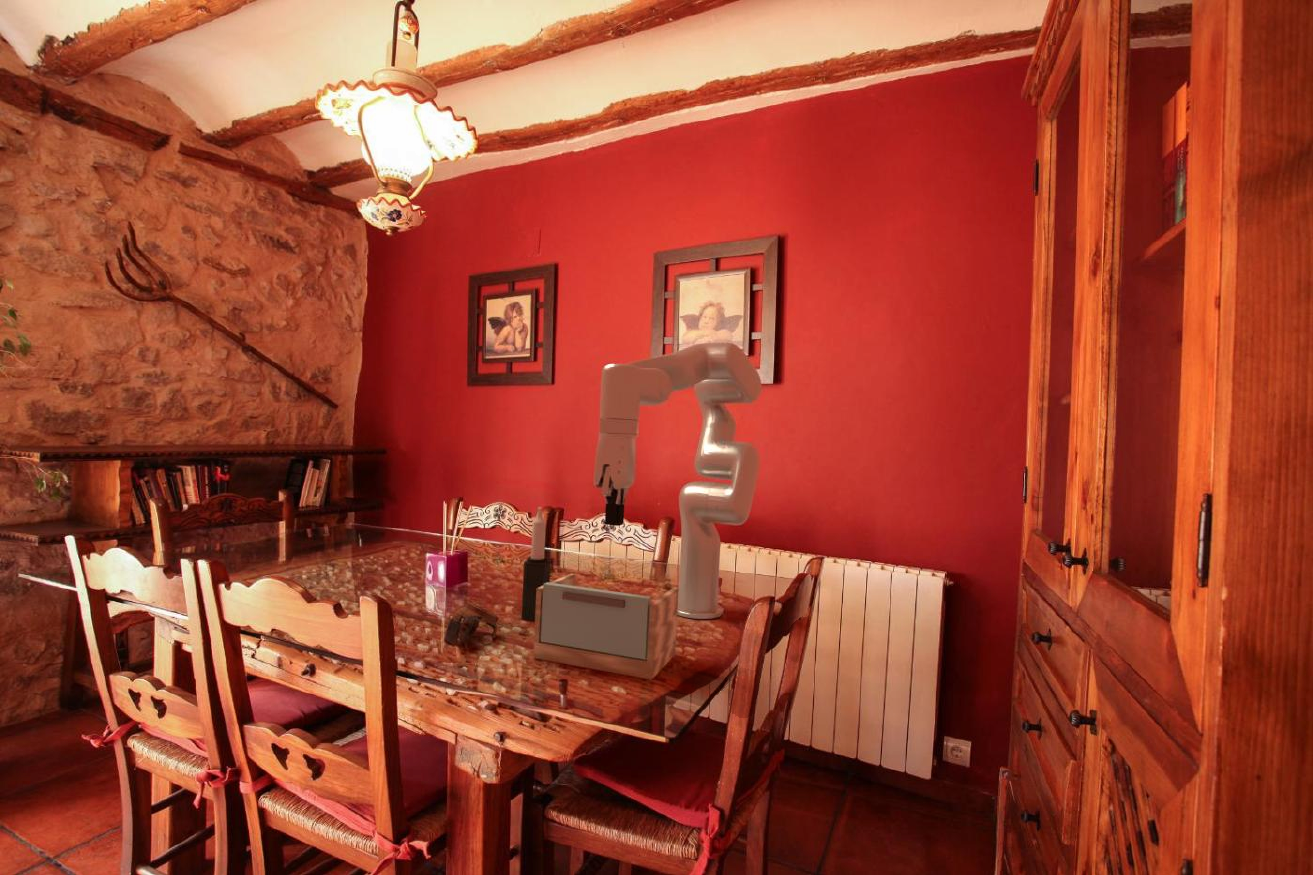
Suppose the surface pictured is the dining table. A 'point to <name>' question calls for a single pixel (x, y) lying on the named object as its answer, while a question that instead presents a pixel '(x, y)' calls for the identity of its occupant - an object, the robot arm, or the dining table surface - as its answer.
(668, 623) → the wooden tray crate
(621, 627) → the panel
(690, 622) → the dining table surface
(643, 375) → the robot arm
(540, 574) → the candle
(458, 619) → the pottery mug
